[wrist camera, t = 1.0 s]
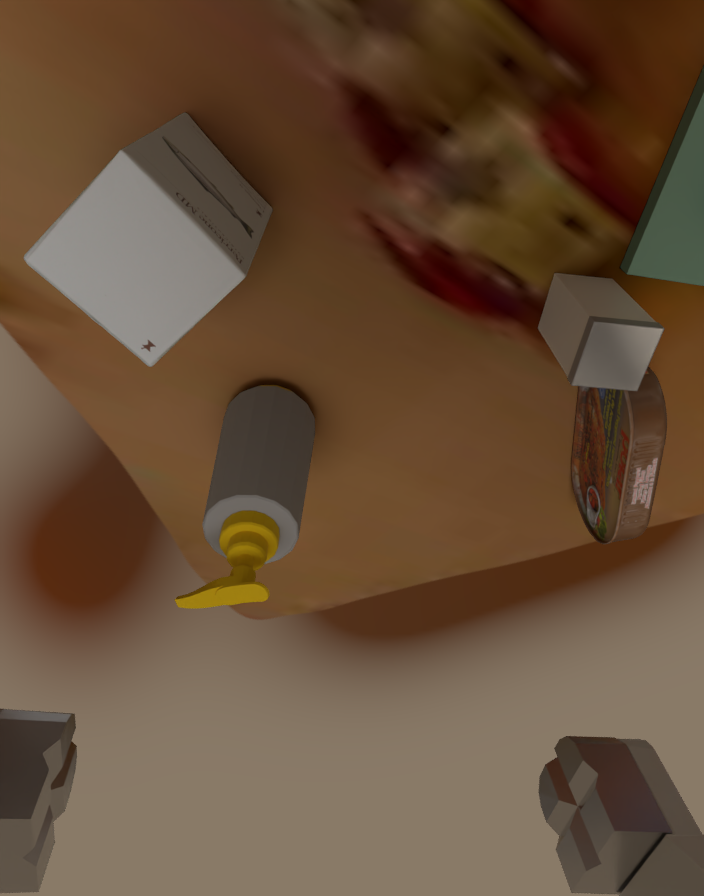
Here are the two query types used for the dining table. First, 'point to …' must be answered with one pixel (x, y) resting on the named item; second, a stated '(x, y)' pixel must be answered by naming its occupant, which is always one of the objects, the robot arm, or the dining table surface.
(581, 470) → the tin
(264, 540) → the soap bottle
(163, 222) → the supplement box
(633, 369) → the plug
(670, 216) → the board
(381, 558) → the dining table surface
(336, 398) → the dining table surface
